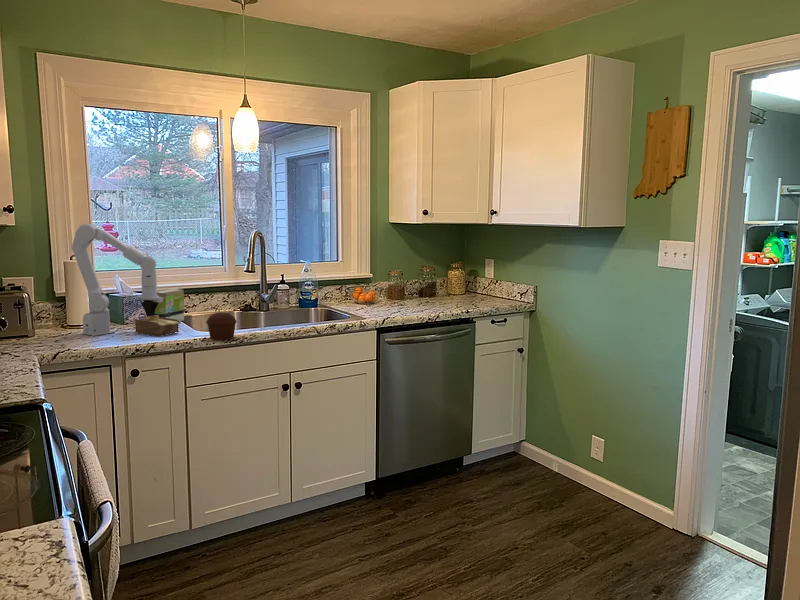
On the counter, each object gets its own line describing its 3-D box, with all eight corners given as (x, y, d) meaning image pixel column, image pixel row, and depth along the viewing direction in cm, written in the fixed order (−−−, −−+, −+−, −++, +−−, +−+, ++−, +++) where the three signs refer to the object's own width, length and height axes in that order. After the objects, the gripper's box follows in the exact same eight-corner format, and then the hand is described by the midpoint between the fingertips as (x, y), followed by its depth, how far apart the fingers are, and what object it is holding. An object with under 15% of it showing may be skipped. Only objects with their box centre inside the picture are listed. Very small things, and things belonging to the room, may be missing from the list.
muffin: (233, 334, 251) (232, 310, 250) (240, 339, 242) (239, 314, 241) (203, 336, 246) (202, 311, 244) (209, 341, 236) (208, 315, 235)
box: (157, 336, 244) (157, 322, 243) (135, 332, 251) (135, 319, 251) (178, 332, 253) (178, 319, 252) (156, 329, 260) (156, 316, 259)
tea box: (166, 325, 270) (165, 292, 268) (146, 324, 272) (144, 291, 270) (185, 320, 284) (184, 288, 282) (165, 319, 286) (164, 288, 284)
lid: (163, 326, 243) (162, 320, 243) (140, 322, 250) (140, 316, 250) (180, 323, 250) (180, 317, 250) (158, 320, 257) (158, 314, 257)
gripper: (169, 286, 252) (170, 318, 254) (146, 284, 260) (147, 315, 261) (154, 287, 246) (155, 321, 248) (131, 285, 254) (132, 317, 255)
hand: (150, 318), depth 254 cm, fingers closed
